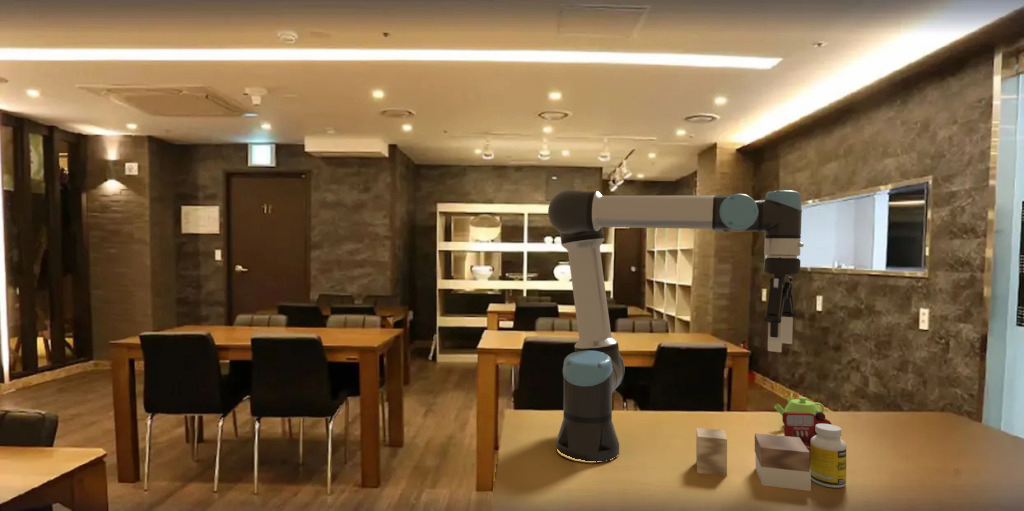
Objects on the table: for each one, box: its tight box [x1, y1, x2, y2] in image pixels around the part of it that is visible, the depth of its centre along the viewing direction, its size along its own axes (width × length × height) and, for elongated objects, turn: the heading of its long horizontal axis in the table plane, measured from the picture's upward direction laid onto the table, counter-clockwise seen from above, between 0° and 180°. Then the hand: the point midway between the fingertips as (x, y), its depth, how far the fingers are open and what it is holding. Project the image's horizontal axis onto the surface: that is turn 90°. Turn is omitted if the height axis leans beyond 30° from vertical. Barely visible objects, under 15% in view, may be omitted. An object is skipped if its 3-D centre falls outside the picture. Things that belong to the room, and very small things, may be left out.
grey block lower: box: [755, 455, 812, 492], centre depth 112 cm, size 9×9×4 cm
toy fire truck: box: [781, 412, 833, 452], centre depth 124 cm, size 7×12×10 cm, turn 87°
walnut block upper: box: [754, 433, 811, 472], centre depth 112 cm, size 9×9×4 cm
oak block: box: [695, 427, 728, 477], centre depth 117 cm, size 6×6×8 cm
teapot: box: [773, 396, 827, 419], centre depth 144 cm, size 11×12×8 cm
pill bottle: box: [810, 423, 847, 489], centre depth 110 cm, size 6×6×12 cm
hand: (780, 347), depth 123 cm, fingers open, 13 cm apart
